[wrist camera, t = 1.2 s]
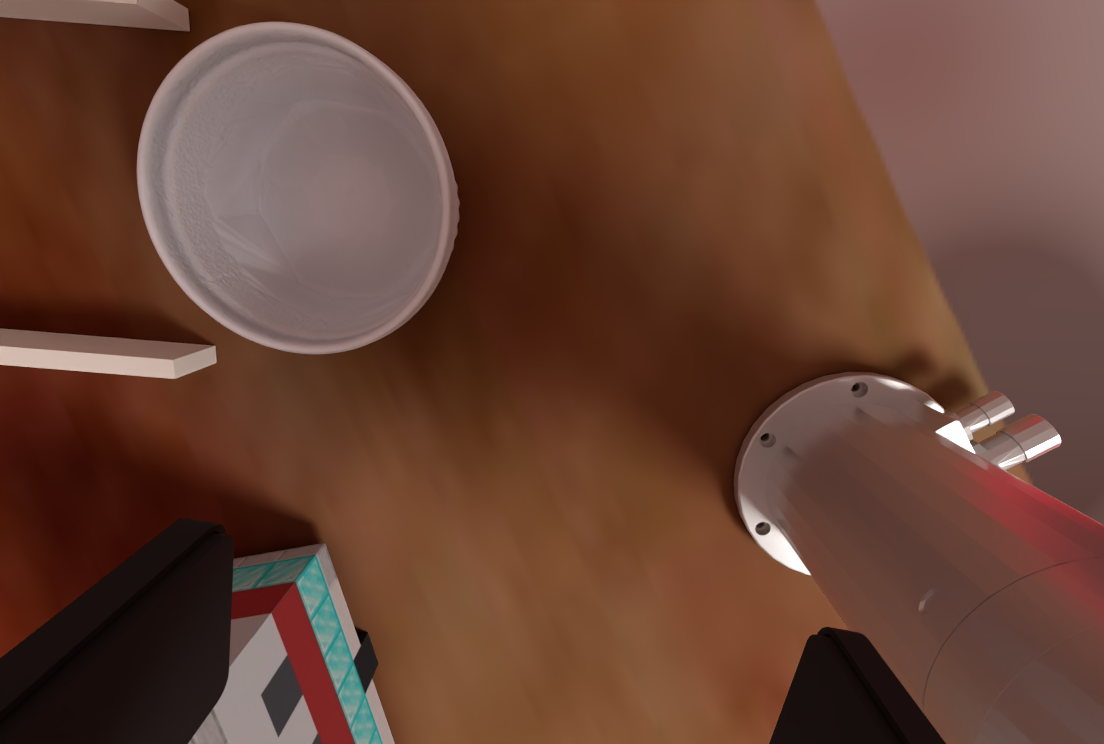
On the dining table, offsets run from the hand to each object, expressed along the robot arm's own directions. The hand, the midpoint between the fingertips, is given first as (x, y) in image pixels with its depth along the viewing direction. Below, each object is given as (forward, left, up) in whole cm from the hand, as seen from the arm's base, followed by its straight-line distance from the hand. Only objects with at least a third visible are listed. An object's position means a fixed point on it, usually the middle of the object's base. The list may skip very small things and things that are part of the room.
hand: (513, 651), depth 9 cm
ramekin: (+5, -12, -23) cm, 27 cm away
